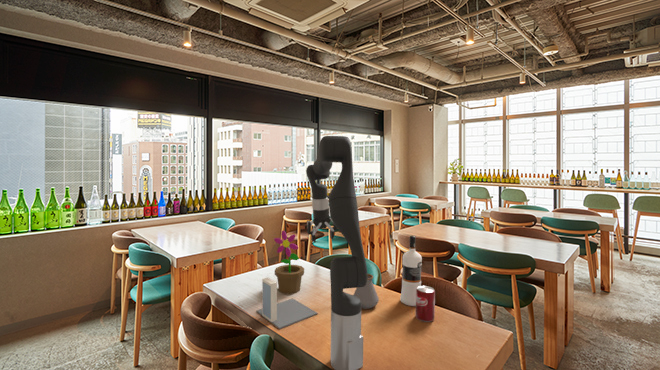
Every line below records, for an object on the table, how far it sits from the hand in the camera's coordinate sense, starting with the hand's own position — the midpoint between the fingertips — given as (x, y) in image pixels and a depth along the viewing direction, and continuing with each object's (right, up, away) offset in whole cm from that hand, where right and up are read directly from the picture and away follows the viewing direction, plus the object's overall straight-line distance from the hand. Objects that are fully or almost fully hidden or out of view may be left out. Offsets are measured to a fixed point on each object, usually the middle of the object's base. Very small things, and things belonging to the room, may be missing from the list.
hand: (323, 240), depth 146 cm
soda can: (+41, -28, -22) cm, 54 cm away
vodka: (+39, -27, -7) cm, 48 cm away
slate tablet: (-21, -26, -24) cm, 41 cm away
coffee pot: (+14, -26, -8) cm, 31 cm away
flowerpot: (-16, -25, +5) cm, 31 cm away
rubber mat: (-15, -27, -18) cm, 36 cm away
